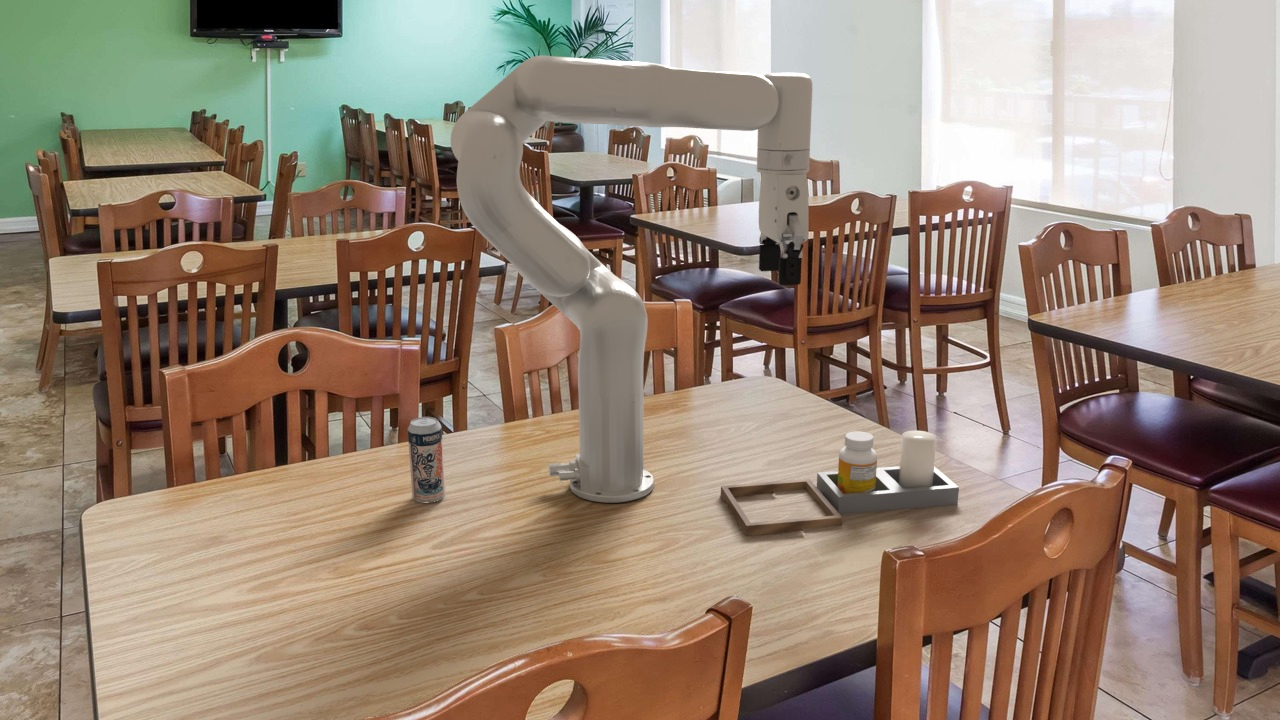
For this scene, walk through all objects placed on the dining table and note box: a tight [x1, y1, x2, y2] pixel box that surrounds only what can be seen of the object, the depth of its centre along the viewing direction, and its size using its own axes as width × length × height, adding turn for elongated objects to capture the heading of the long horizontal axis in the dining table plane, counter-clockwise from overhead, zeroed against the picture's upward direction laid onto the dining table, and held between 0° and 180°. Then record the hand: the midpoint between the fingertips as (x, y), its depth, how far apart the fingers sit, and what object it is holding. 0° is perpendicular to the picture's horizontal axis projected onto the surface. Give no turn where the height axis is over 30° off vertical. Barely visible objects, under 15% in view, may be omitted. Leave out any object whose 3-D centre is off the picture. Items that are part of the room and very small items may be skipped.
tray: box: [720, 478, 843, 537], centre depth 154 cm, size 14×14×2 cm
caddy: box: [816, 465, 960, 515], centre depth 158 cm, size 18×9×3 cm, turn 100°
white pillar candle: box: [899, 430, 937, 489], centre depth 157 cm, size 5×5×9 cm
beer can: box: [407, 416, 447, 503], centre depth 157 cm, size 5×5×12 cm
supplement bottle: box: [837, 430, 878, 494], centre depth 156 cm, size 5×5×10 cm
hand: (779, 277), depth 161 cm, fingers open, 9 cm apart
